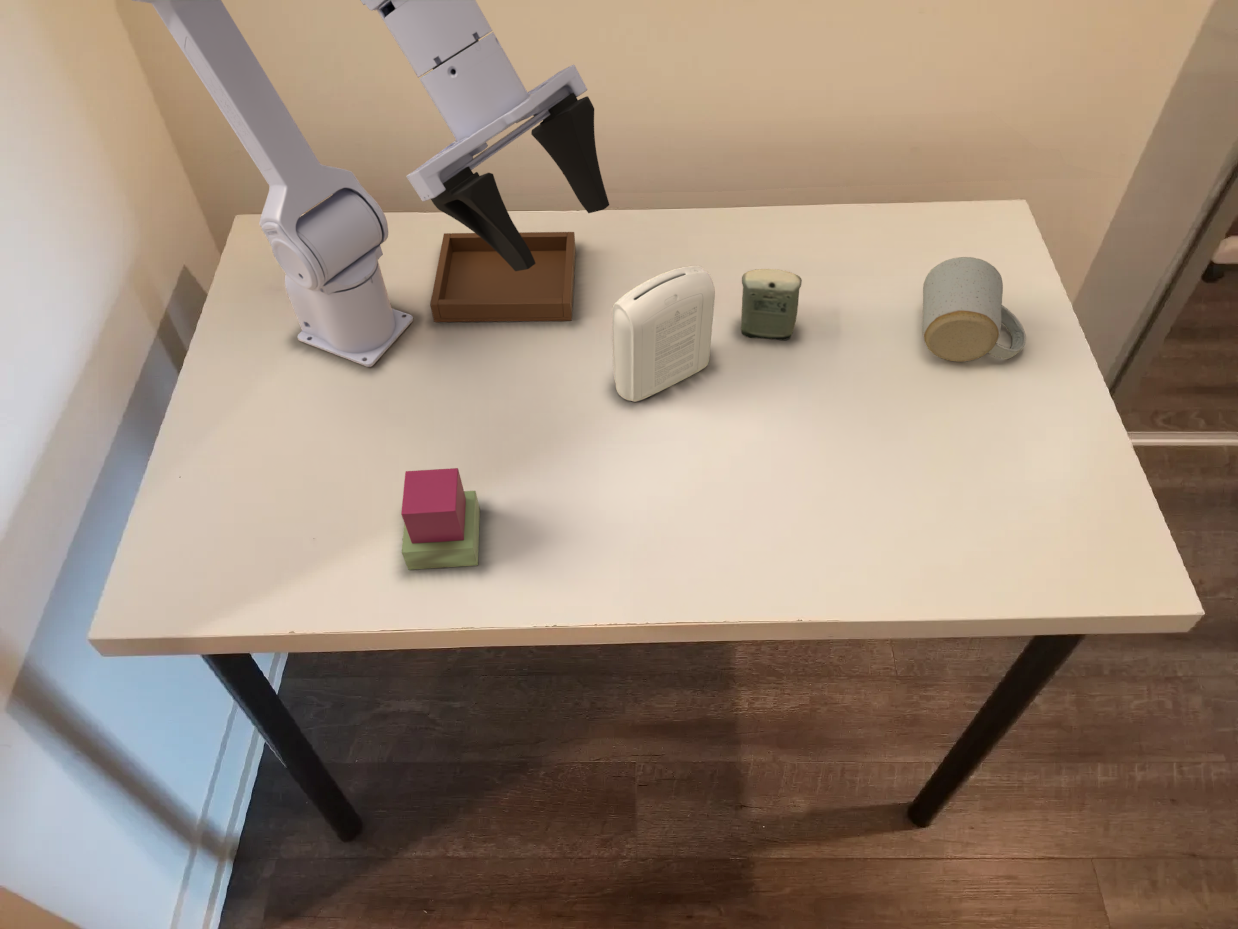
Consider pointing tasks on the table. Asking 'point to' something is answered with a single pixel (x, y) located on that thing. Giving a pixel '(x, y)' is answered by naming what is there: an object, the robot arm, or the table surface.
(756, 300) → the grey-green labelled box
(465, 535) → the base slab
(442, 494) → the pink block
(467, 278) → the tray
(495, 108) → the robot arm
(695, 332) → the photo printer
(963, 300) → the ceramic mug
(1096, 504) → the table surface
